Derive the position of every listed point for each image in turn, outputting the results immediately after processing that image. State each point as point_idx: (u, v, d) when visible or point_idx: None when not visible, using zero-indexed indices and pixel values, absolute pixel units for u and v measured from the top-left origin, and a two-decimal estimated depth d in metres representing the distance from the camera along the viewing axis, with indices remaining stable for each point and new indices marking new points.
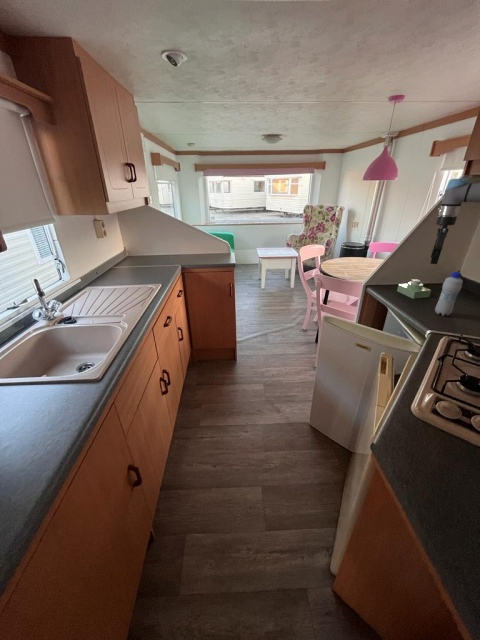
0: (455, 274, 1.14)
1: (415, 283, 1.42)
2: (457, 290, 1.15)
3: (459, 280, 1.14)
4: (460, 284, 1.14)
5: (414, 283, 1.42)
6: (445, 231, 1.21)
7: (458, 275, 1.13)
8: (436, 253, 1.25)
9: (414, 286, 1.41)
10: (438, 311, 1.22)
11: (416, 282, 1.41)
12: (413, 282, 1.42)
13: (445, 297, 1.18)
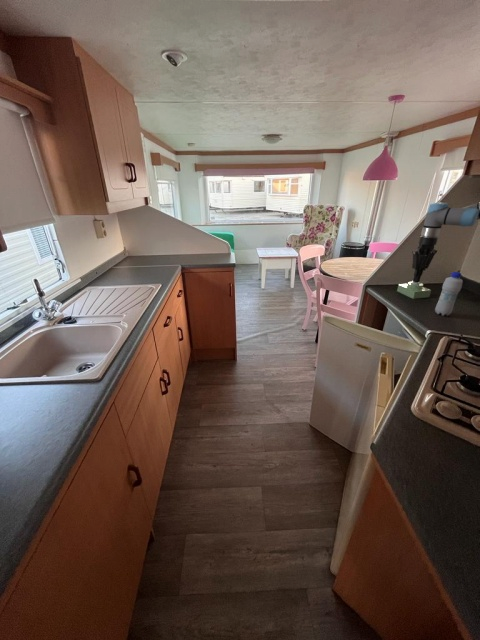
0: (455, 274, 1.14)
1: None
2: (457, 290, 1.15)
3: (459, 280, 1.14)
4: (460, 284, 1.14)
5: None
6: (415, 254, 1.35)
7: (458, 275, 1.13)
8: (415, 272, 1.41)
9: (414, 286, 1.41)
10: (438, 311, 1.22)
11: (415, 283, 1.42)
12: (413, 284, 1.43)
13: (445, 297, 1.18)
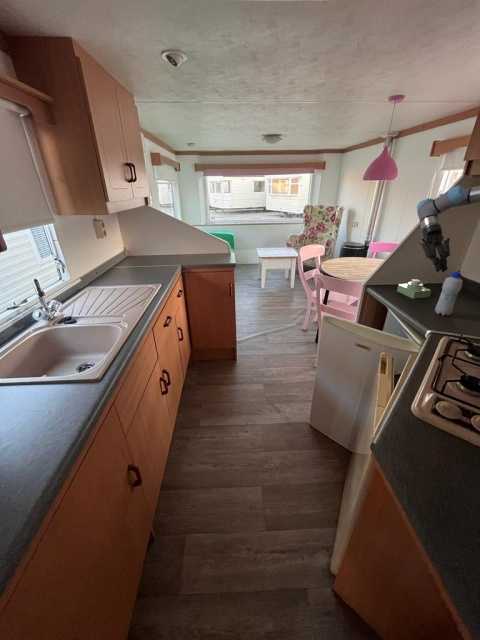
0: (455, 274, 1.14)
1: (415, 283, 1.42)
2: (457, 290, 1.15)
3: (459, 280, 1.14)
4: (460, 284, 1.14)
5: (414, 283, 1.42)
6: (422, 241, 1.28)
7: (458, 275, 1.13)
8: (433, 260, 1.25)
9: (414, 286, 1.41)
10: (438, 311, 1.22)
11: (416, 282, 1.41)
12: (413, 282, 1.42)
13: (445, 297, 1.18)
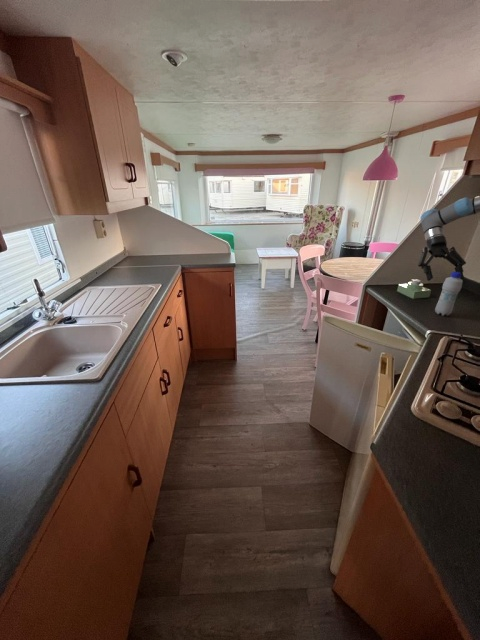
0: (455, 274, 1.14)
1: (415, 283, 1.42)
2: (457, 290, 1.15)
3: (459, 280, 1.14)
4: (460, 284, 1.14)
5: (414, 283, 1.42)
6: (424, 250, 1.25)
7: (458, 275, 1.13)
8: (424, 269, 1.23)
9: (414, 286, 1.41)
10: (438, 311, 1.22)
11: (416, 282, 1.41)
12: (413, 282, 1.42)
13: (445, 297, 1.18)
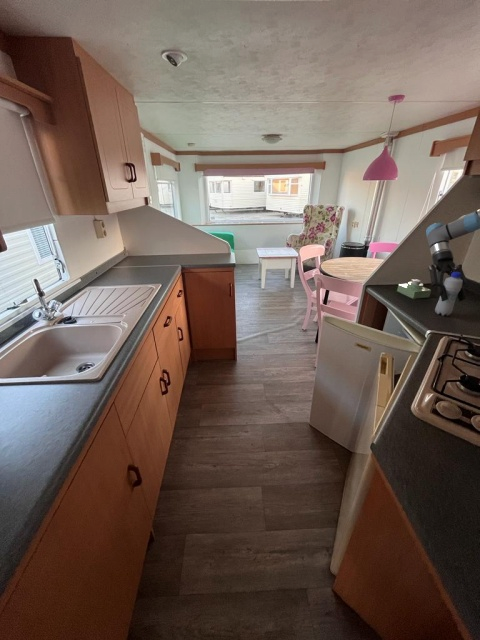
0: (455, 274, 1.14)
1: (415, 283, 1.42)
2: (457, 290, 1.15)
3: (459, 280, 1.14)
4: (460, 284, 1.14)
5: (414, 283, 1.42)
6: (431, 268, 1.21)
7: (458, 275, 1.13)
8: (438, 289, 1.18)
9: (414, 286, 1.41)
10: (438, 311, 1.22)
11: (416, 282, 1.41)
12: (413, 282, 1.42)
13: None
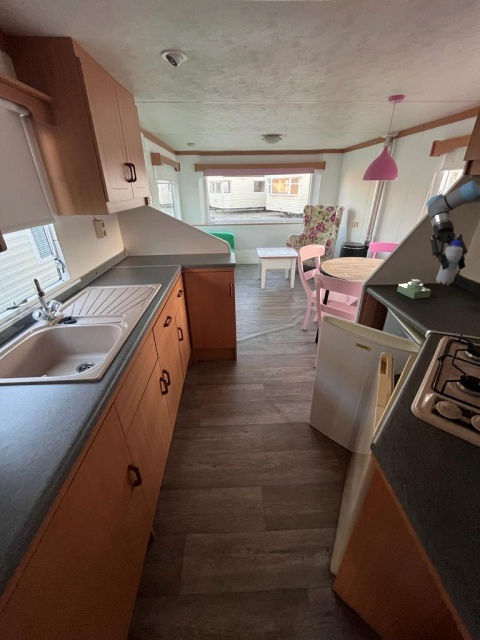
0: (456, 242, 1.17)
1: (415, 283, 1.42)
2: (457, 258, 1.18)
3: (459, 248, 1.17)
4: (460, 252, 1.17)
5: (414, 283, 1.42)
6: (432, 238, 1.24)
7: (458, 243, 1.17)
8: (439, 258, 1.22)
9: (414, 286, 1.41)
10: (439, 280, 1.25)
11: (416, 282, 1.41)
12: (413, 282, 1.42)
13: None
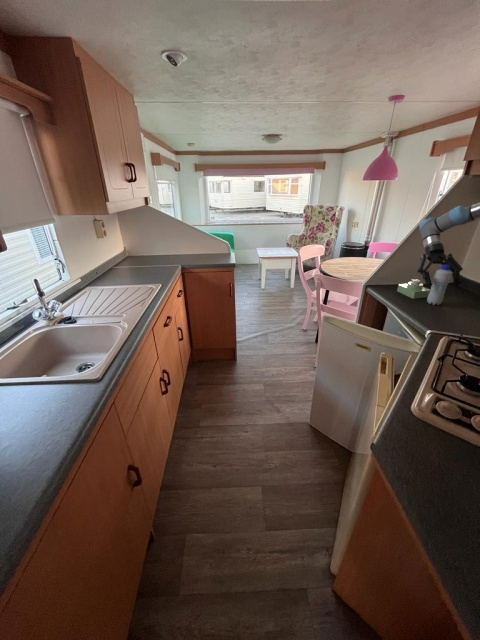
0: (444, 266, 1.24)
1: (415, 283, 1.42)
2: (446, 281, 1.25)
3: (448, 272, 1.24)
4: (449, 276, 1.24)
5: (414, 283, 1.42)
6: (422, 256, 1.32)
7: (447, 267, 1.24)
8: (423, 275, 1.29)
9: (414, 286, 1.41)
10: (429, 301, 1.32)
11: (416, 282, 1.41)
12: (413, 282, 1.42)
13: (436, 288, 1.29)
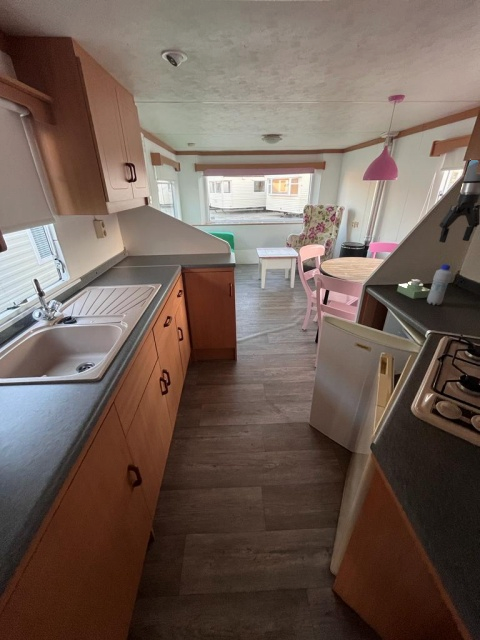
0: (444, 266, 1.24)
1: (415, 283, 1.42)
2: (446, 281, 1.25)
3: (448, 272, 1.24)
4: (449, 276, 1.24)
5: (414, 283, 1.42)
6: (453, 208, 1.22)
7: (447, 267, 1.24)
8: (442, 230, 1.27)
9: (414, 286, 1.41)
10: (429, 301, 1.32)
11: (416, 282, 1.41)
12: (413, 282, 1.42)
13: (436, 288, 1.29)
